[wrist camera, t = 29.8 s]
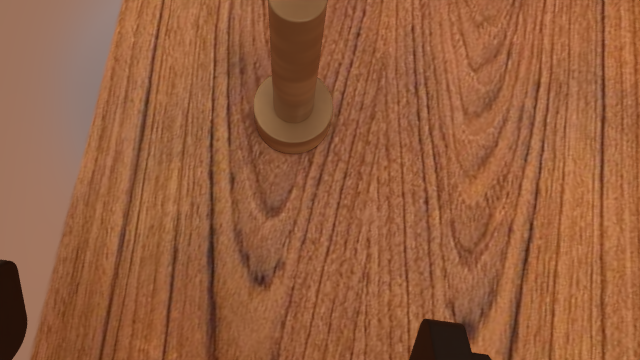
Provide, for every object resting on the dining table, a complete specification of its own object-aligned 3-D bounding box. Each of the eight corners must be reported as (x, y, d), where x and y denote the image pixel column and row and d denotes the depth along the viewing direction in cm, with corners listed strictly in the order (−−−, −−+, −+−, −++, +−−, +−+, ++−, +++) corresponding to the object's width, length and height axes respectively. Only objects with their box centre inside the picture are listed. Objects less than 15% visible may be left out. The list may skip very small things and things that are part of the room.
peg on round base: (246, 144, 30) (223, 33, 18) (265, 77, 31) (254, -68, 19) (321, 161, 30) (344, 61, 18) (337, 93, 31) (368, -41, 20)
